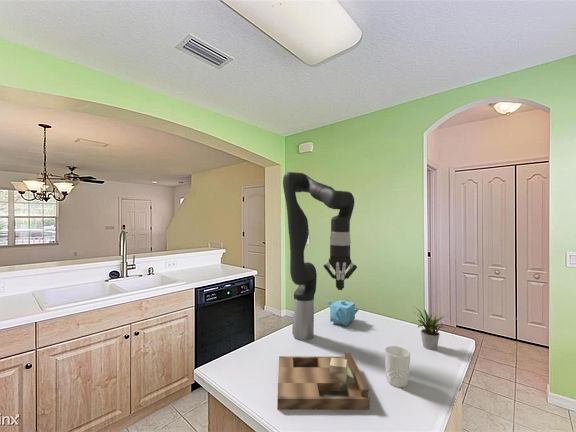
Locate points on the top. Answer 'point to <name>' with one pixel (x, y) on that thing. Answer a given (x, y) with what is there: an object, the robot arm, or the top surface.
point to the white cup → (397, 365)
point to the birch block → (338, 370)
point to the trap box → (319, 384)
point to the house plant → (429, 331)
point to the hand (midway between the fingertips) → (339, 289)
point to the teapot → (342, 312)
